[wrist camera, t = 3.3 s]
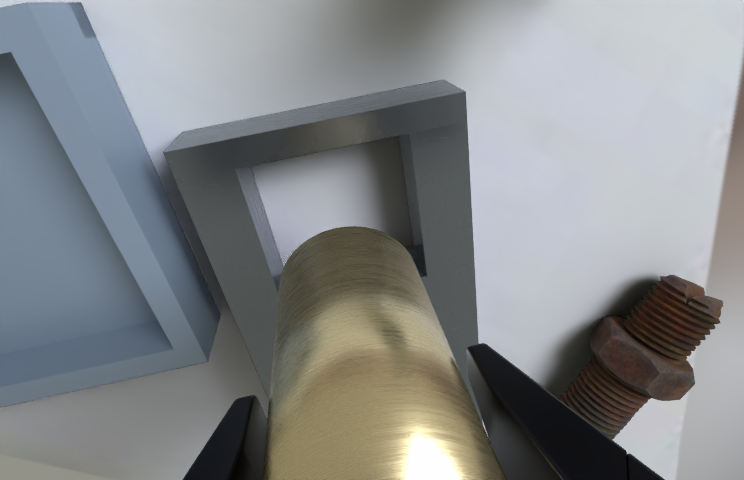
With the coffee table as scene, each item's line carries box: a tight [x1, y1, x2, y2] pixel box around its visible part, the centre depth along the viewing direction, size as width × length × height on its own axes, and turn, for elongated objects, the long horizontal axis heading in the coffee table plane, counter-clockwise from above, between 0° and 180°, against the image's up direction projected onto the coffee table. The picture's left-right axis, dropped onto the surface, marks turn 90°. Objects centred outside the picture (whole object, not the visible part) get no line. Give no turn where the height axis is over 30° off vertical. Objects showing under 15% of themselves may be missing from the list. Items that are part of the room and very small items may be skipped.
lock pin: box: [262, 226, 506, 480], centre depth 8 cm, size 5×5×9 cm
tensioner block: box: [163, 80, 482, 422], centre depth 18 cm, size 18×10×6 cm, turn 10°
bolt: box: [494, 275, 723, 480], centre depth 24 cm, size 6×5×15 cm
